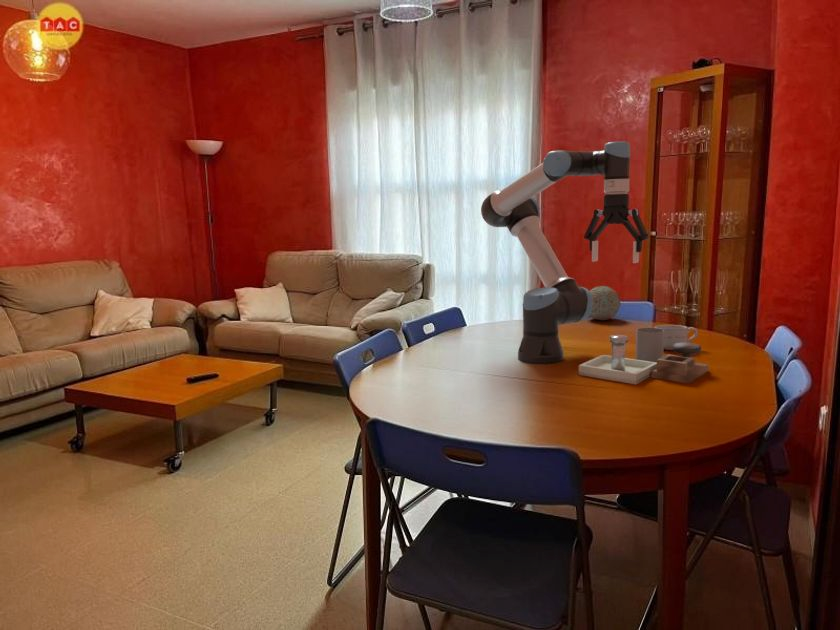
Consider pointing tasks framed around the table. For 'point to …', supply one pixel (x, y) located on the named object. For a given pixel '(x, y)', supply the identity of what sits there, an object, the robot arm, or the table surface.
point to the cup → (649, 344)
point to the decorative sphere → (604, 303)
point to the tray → (602, 369)
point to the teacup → (675, 335)
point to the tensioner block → (680, 364)
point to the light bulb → (618, 352)
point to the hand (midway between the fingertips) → (614, 262)
